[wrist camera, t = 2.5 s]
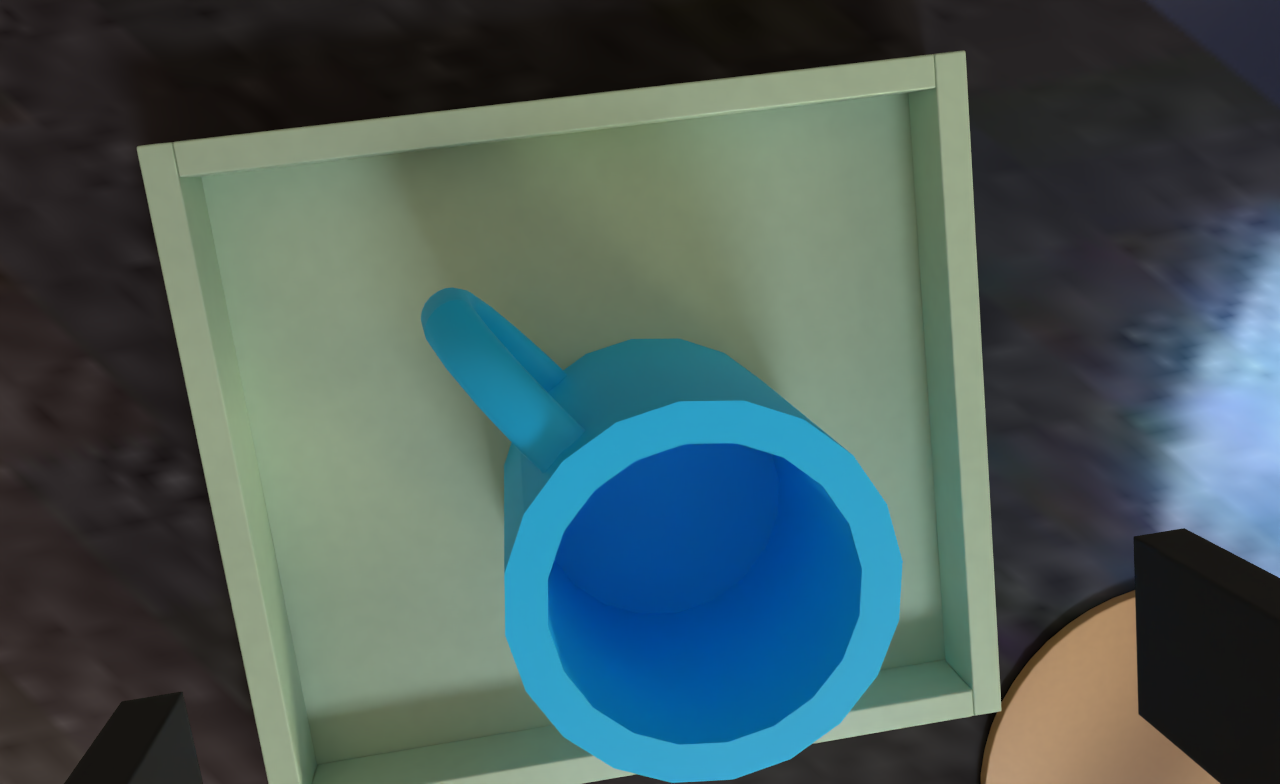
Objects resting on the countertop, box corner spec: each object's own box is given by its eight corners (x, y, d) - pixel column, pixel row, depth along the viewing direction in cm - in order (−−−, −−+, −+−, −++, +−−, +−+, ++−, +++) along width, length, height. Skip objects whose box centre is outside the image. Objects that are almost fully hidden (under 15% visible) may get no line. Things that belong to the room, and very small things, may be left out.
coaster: (1347, 552, 34) (1357, 556, 34) (1342, 898, 37) (1351, 906, 36) (968, 614, 33) (974, 620, 33) (990, 967, 35) (995, 976, 35)
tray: (928, 59, 30) (966, 50, 27) (965, 672, 33) (1002, 711, 31) (167, 147, 28) (135, 146, 25) (296, 784, 31) (279, 836, 29)
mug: (859, 480, 31) (982, 587, 23) (651, 683, 32) (700, 856, 24) (552, 165, 28) (571, 164, 21) (329, 392, 29) (263, 476, 21)
